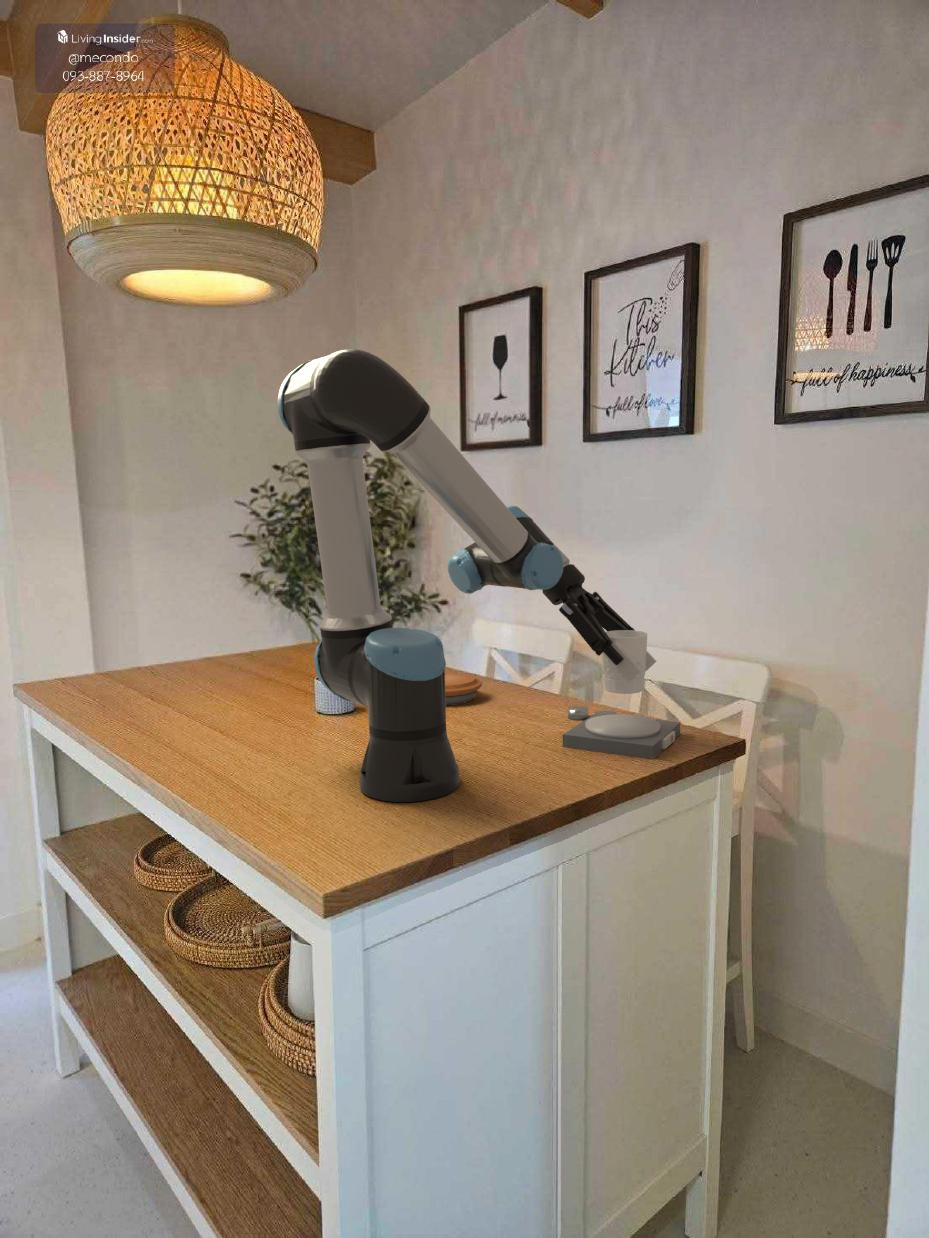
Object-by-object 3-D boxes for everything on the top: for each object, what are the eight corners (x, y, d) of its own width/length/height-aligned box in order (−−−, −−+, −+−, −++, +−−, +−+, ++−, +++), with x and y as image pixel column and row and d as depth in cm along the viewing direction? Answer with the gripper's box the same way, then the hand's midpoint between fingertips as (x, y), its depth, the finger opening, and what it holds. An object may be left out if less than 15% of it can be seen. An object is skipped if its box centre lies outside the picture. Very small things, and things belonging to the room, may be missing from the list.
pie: (497, 699, 177) (496, 676, 177) (440, 712, 168) (439, 688, 167) (453, 688, 189) (453, 667, 189) (398, 699, 180) (397, 677, 179)
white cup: (647, 695, 138) (647, 637, 137) (600, 694, 140) (600, 637, 139) (646, 684, 146) (647, 630, 145) (602, 684, 148) (602, 630, 146)
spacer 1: (583, 722, 157) (583, 712, 157) (564, 719, 159) (564, 709, 159) (591, 717, 161) (591, 707, 160) (572, 714, 163) (572, 705, 162)
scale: (656, 759, 133) (656, 741, 132) (562, 746, 141) (562, 729, 141) (683, 734, 146) (684, 718, 146) (596, 724, 155) (596, 708, 154)
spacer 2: (611, 726, 153) (611, 716, 153) (591, 724, 155) (591, 714, 155) (618, 721, 157) (618, 711, 156) (599, 719, 159) (599, 709, 158)
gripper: (565, 584, 157) (647, 673, 151) (517, 597, 140) (607, 698, 134) (590, 557, 154) (675, 646, 148) (545, 567, 136) (639, 668, 130)
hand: (643, 671), depth 141 cm, fingers closed on white cup, 8 cm apart
